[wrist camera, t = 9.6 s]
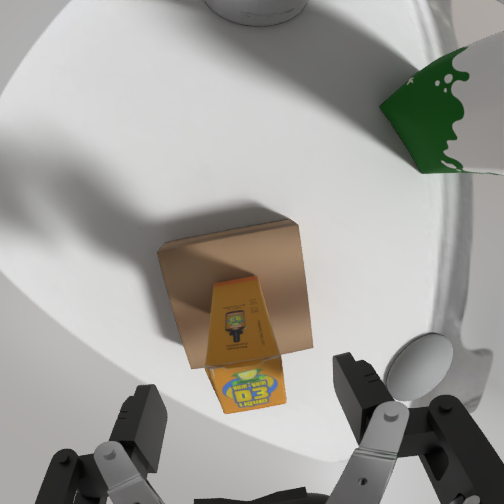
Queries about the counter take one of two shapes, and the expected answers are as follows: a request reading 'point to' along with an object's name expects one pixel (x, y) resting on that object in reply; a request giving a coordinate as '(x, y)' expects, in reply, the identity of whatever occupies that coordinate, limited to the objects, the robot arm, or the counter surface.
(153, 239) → the counter surface
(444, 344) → the grey coaster
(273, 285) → the walnut plinth
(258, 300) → the supplement box
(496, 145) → the milk carton
